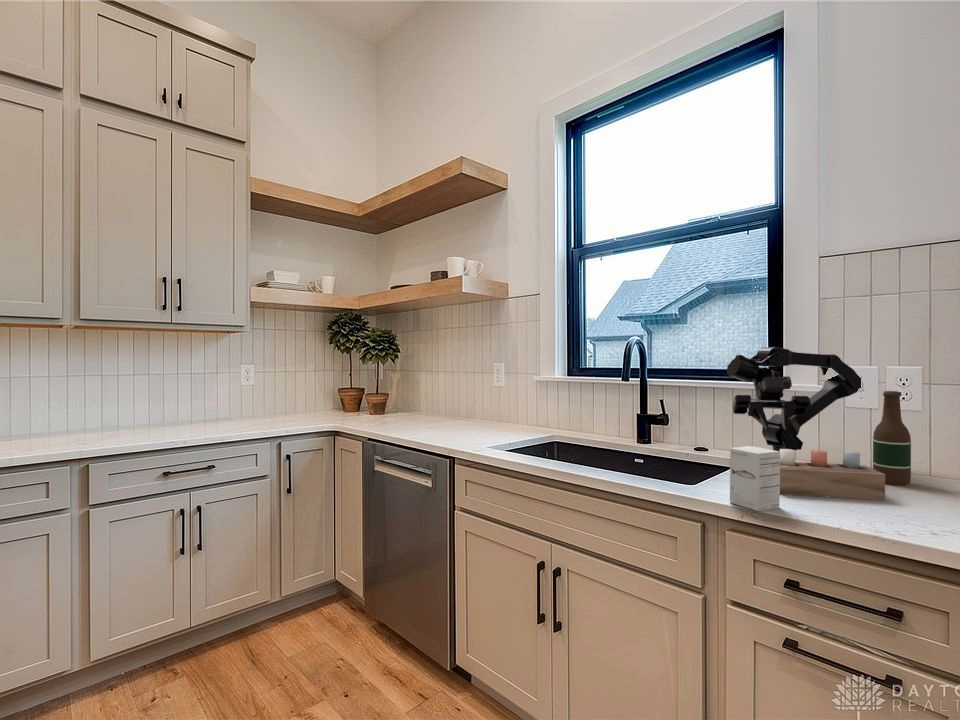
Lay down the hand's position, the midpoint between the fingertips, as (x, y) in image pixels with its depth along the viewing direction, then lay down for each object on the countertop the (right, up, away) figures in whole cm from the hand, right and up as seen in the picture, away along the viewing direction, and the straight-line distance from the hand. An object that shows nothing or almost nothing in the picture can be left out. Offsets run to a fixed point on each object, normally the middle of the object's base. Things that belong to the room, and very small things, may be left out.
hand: (776, 428), depth 139 cm
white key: (-2, -8, -9) cm, 12 cm away
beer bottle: (+28, -14, -4) cm, 31 cm away
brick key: (+4, -8, -11) cm, 14 cm away
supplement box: (-19, -14, -24) cm, 34 cm away
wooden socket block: (+4, -14, -13) cm, 19 cm away
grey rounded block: (+11, -8, -13) cm, 19 cm away
